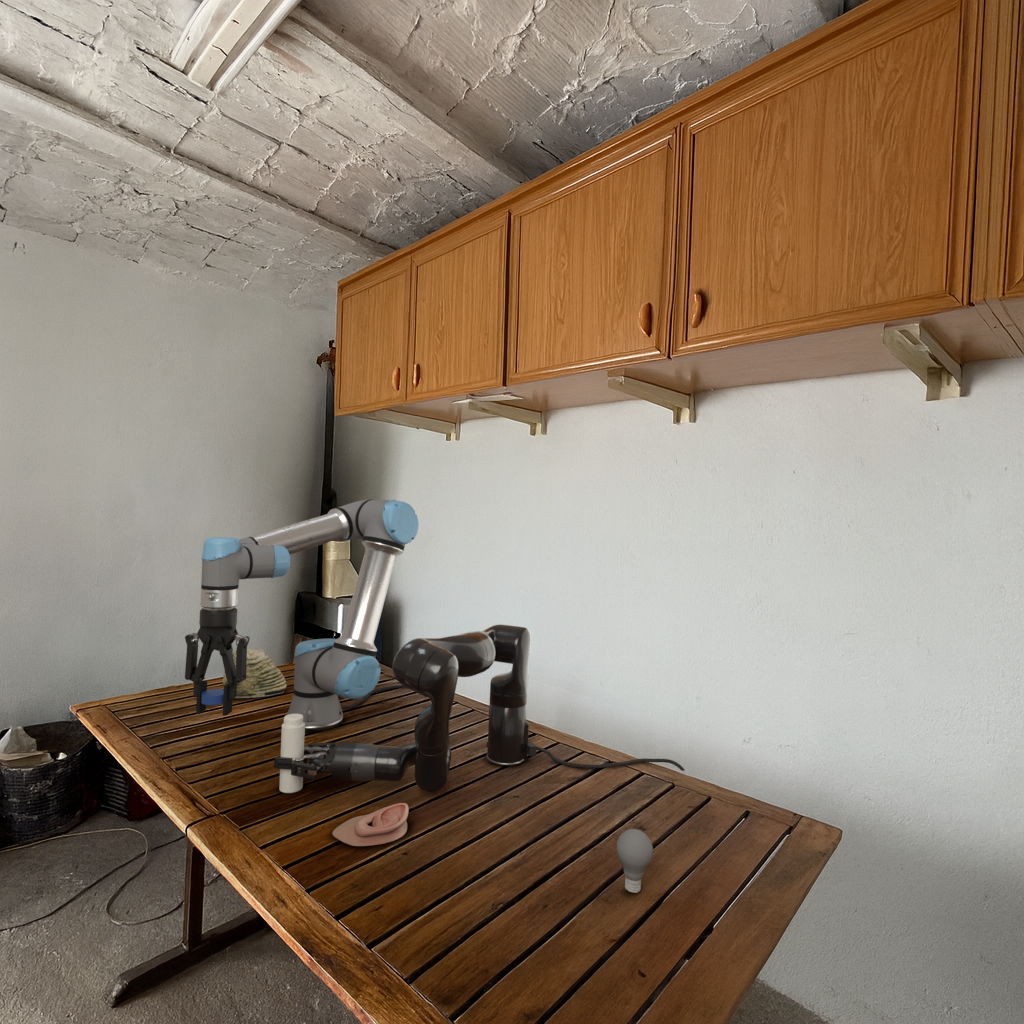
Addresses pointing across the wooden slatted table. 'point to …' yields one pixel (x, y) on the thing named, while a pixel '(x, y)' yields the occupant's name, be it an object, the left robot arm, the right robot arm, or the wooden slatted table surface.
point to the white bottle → (292, 750)
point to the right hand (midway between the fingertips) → (280, 757)
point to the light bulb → (634, 857)
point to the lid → (212, 697)
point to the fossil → (259, 676)
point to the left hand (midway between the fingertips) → (214, 712)
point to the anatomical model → (374, 826)
